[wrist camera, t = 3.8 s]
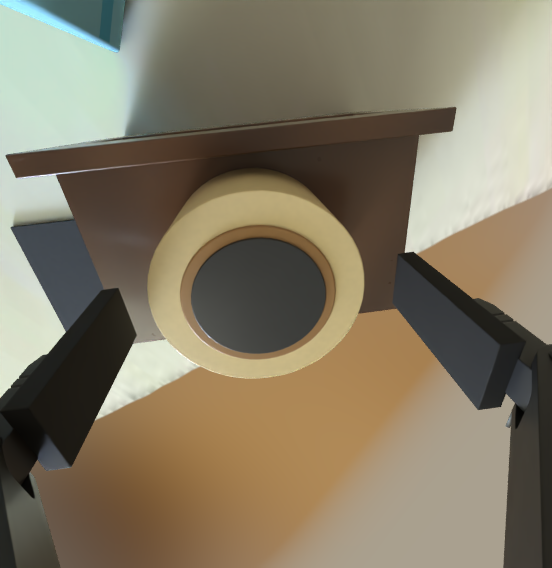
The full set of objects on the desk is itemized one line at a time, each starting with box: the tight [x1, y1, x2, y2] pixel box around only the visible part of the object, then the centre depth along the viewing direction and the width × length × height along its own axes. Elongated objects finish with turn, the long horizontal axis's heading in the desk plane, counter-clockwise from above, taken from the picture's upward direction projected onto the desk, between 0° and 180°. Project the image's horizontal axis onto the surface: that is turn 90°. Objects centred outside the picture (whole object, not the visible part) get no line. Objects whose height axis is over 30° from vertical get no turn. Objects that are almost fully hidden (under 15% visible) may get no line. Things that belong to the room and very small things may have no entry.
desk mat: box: [11, 220, 104, 332], centre depth 32 cm, size 12×14×1 cm
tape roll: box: [147, 168, 364, 378], centre depth 17 cm, size 10×10×6 cm
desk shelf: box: [6, 107, 456, 344], centre depth 23 cm, size 20×13×15 cm, turn 95°
